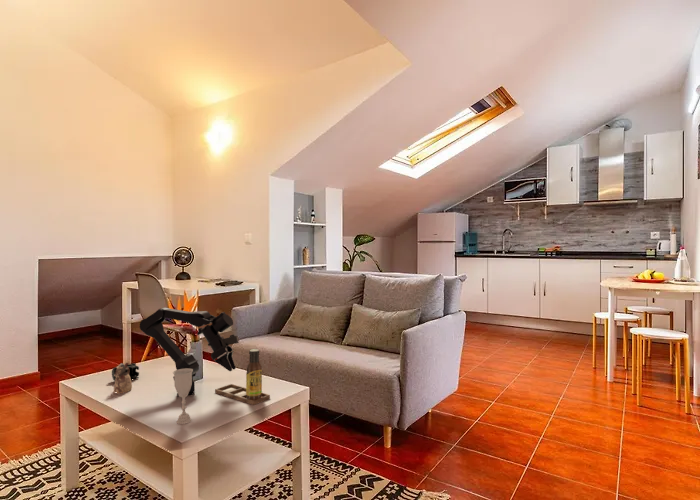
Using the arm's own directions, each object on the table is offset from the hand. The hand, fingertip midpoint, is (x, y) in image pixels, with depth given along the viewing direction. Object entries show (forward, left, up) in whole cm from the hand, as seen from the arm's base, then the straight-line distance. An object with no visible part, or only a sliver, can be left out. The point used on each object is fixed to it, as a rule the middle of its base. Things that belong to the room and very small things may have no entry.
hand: (233, 369), depth 177 cm
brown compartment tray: (+3, -1, -11) cm, 12 cm away
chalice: (-19, -19, -11) cm, 29 cm away
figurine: (-45, +27, -11) cm, 54 cm away
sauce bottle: (+8, -7, -11) cm, 15 cm away
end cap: (-46, +44, -11) cm, 65 cm away
